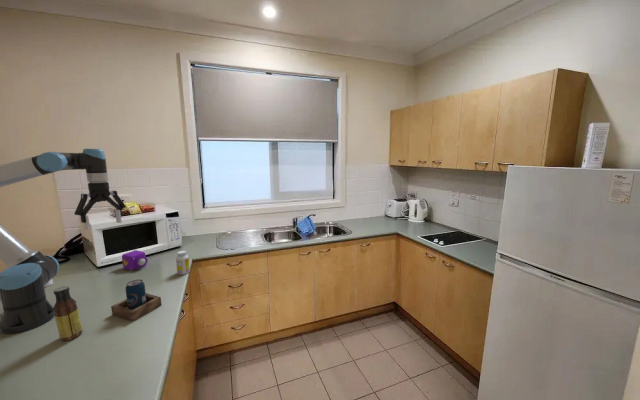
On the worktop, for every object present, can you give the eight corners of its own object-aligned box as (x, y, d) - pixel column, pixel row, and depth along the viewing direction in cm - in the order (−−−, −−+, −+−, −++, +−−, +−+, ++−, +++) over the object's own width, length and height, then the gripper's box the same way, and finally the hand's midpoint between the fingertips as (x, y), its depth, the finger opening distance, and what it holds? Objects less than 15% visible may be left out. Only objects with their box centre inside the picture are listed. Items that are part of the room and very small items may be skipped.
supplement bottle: (189, 269, 158) (187, 249, 156) (190, 273, 152) (188, 252, 150) (176, 271, 154) (175, 251, 152) (177, 276, 148) (175, 254, 146)
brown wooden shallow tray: (132, 321, 107) (131, 312, 106) (112, 314, 111) (111, 306, 111) (161, 305, 119) (160, 297, 118) (142, 299, 124) (141, 291, 123)
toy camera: (138, 272, 153) (136, 256, 152) (119, 270, 156) (117, 254, 154) (153, 265, 164) (152, 250, 162) (135, 263, 167) (133, 248, 165)
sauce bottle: (81, 328, 102) (73, 281, 99) (84, 335, 98) (76, 287, 95) (57, 337, 97) (49, 288, 94) (60, 344, 93) (51, 294, 90)
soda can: (124, 311, 112) (120, 286, 110) (135, 303, 119) (132, 278, 117) (139, 312, 112) (136, 286, 110) (150, 303, 119) (147, 278, 117)
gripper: (121, 179, 134) (125, 219, 138) (59, 184, 111) (66, 231, 114) (130, 180, 132) (135, 220, 135) (69, 184, 109) (77, 233, 112)
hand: (104, 225), depth 125 cm, fingers open, 13 cm apart
